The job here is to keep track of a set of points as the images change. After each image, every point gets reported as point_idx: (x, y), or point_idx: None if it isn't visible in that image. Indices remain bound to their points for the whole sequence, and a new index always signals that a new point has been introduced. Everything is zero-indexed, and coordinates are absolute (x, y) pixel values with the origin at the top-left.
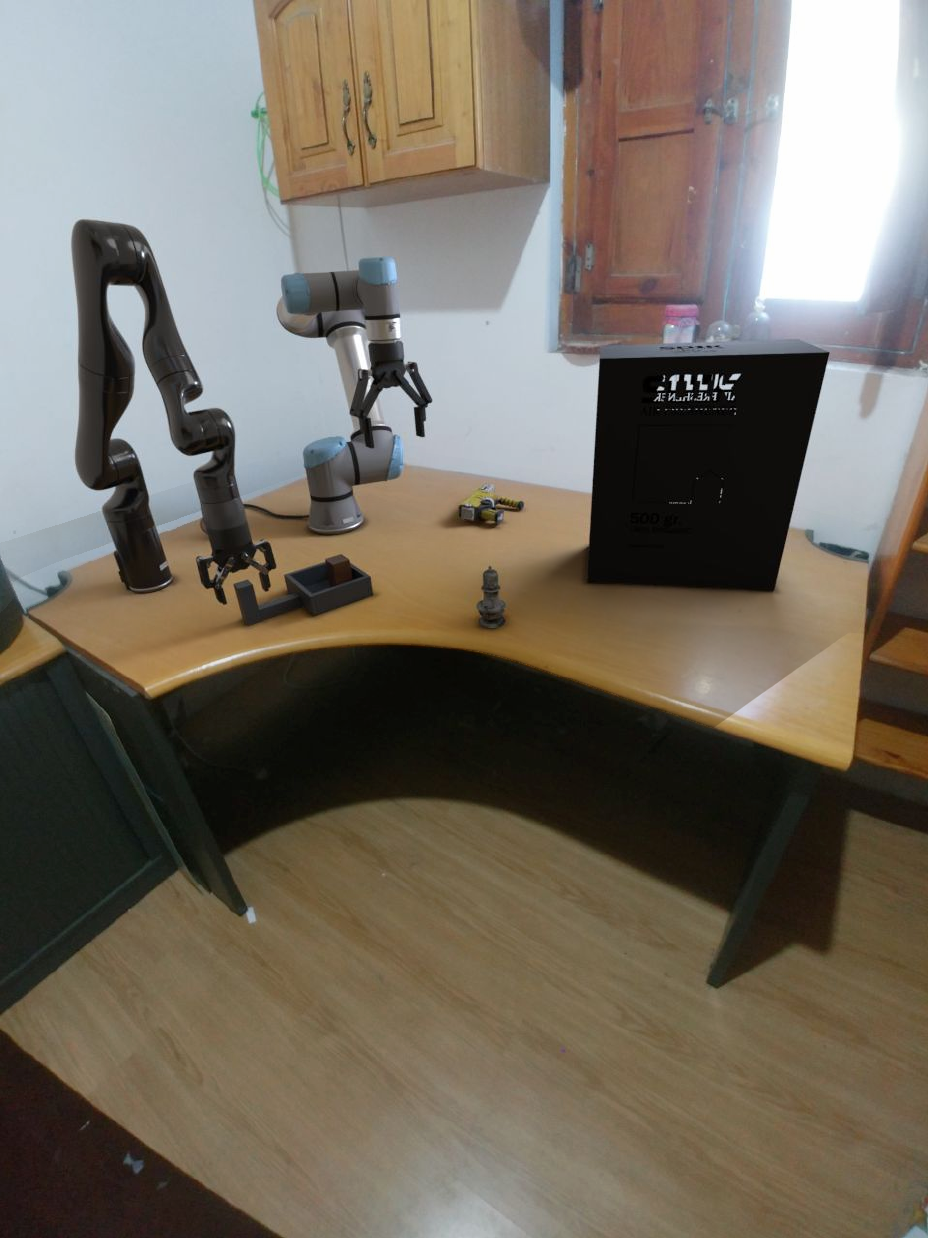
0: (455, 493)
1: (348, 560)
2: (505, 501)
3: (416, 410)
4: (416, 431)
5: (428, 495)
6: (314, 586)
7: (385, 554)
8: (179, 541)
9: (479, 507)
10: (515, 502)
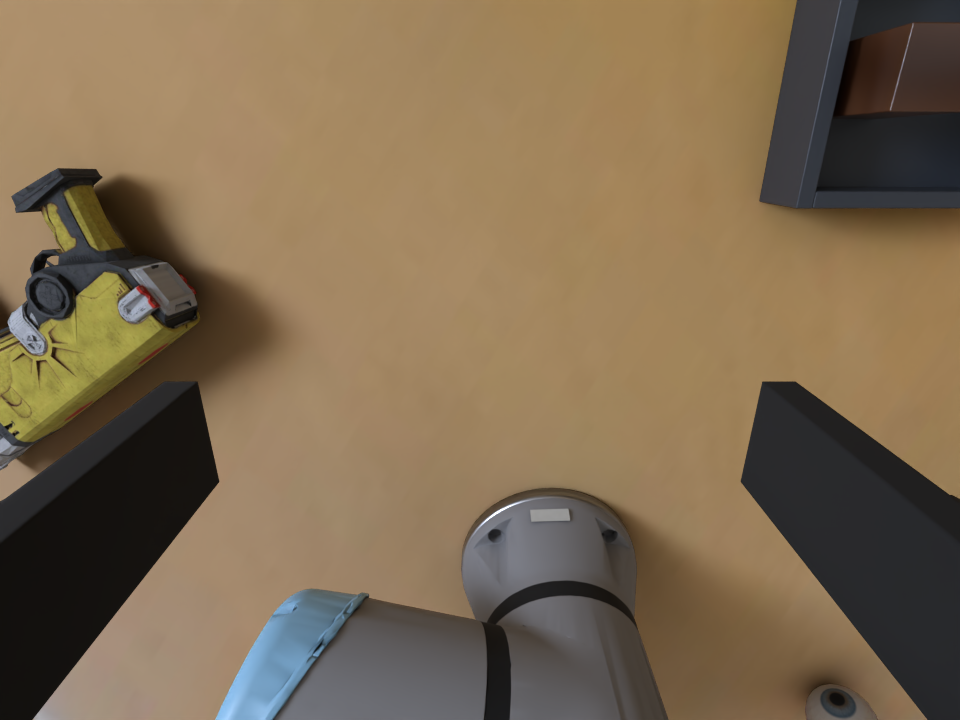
0: None
1: (916, 22)
2: None
3: (3, 665)
4: (196, 496)
5: (188, 582)
6: (897, 167)
7: (565, 252)
8: (900, 706)
9: (102, 266)
10: None
